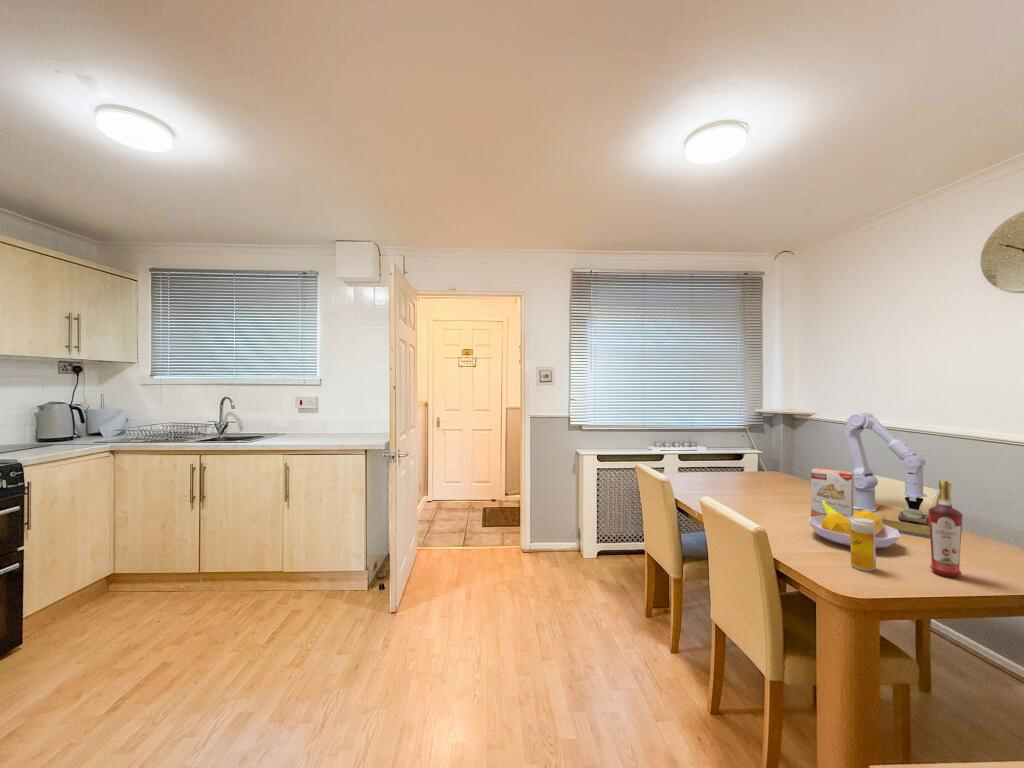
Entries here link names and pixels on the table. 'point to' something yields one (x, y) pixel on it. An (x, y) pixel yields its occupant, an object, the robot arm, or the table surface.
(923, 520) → the square caster platform
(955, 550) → the liquor
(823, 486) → the cracker box
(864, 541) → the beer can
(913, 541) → the table surface
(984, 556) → the table surface
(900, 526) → the plate
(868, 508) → the robot arm
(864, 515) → the fruit bowl
